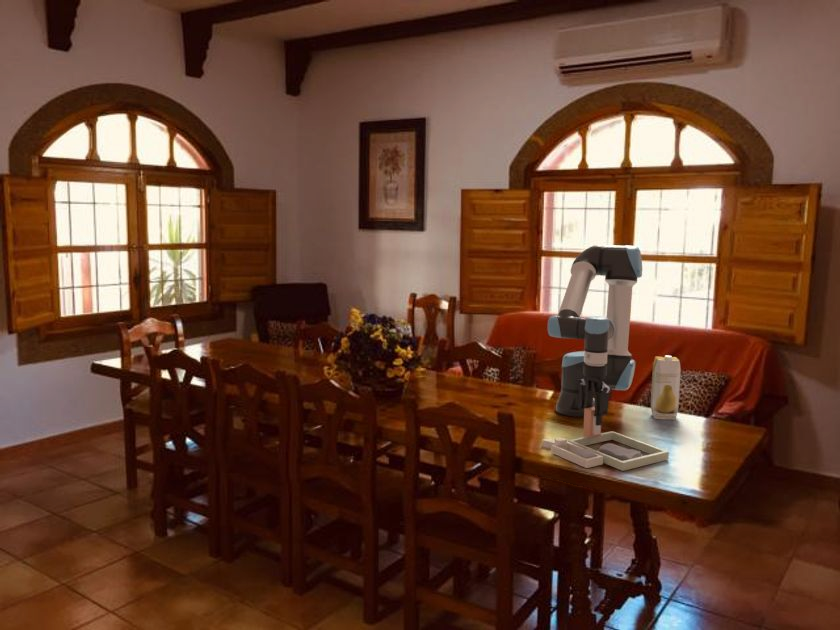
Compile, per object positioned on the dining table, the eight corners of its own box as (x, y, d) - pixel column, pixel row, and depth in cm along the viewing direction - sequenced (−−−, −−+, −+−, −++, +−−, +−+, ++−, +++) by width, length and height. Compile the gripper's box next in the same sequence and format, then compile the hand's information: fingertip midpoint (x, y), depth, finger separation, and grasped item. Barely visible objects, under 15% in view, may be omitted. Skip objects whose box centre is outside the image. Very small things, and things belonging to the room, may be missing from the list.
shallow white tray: (565, 446, 237) (567, 411, 236) (610, 437, 248) (611, 403, 246) (622, 470, 216) (624, 432, 214) (668, 459, 226) (670, 422, 225)
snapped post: (542, 446, 239) (542, 439, 238) (545, 445, 241) (546, 438, 240) (554, 450, 236) (555, 443, 235) (558, 448, 237) (558, 441, 237)
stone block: (610, 456, 235) (594, 457, 228) (613, 442, 235) (597, 442, 228) (644, 467, 227) (628, 469, 220) (647, 452, 227) (631, 453, 220)
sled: (549, 451, 232) (550, 439, 232) (565, 448, 236) (566, 436, 235) (586, 468, 218) (586, 455, 218) (602, 464, 222) (603, 451, 221)
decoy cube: (576, 462, 224) (576, 450, 224) (585, 460, 226) (586, 448, 226) (585, 466, 221) (585, 454, 220) (594, 464, 223) (595, 451, 222)
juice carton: (652, 419, 269) (656, 356, 266) (649, 413, 277) (652, 352, 273) (678, 420, 268) (682, 357, 264) (674, 414, 276) (678, 353, 272)
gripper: (569, 360, 242) (567, 427, 246) (604, 369, 228) (601, 441, 232) (586, 358, 246) (583, 424, 249) (621, 367, 232) (618, 437, 236)
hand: (592, 432), depth 241 cm, fingers closed on shallow white tray, 3 cm apart
